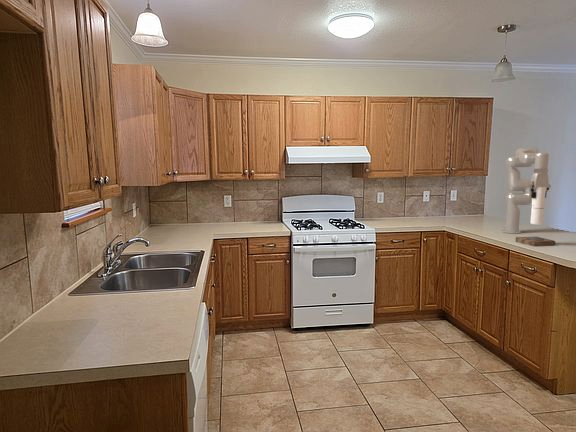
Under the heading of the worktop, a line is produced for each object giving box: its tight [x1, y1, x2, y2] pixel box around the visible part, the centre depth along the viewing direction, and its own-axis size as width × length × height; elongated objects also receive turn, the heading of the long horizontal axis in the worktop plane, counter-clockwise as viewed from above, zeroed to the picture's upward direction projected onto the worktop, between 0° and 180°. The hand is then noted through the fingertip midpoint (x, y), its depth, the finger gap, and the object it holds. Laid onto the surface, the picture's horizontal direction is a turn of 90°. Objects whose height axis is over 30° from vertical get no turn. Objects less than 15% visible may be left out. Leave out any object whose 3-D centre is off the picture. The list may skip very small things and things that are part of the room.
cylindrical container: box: [530, 187, 547, 226], centre depth 251 cm, size 7×7×25 cm
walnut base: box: [515, 236, 556, 247], centre depth 254 cm, size 16×16×4 cm
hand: (538, 197), depth 250 cm, fingers closed on cylindrical container, 7 cm apart
